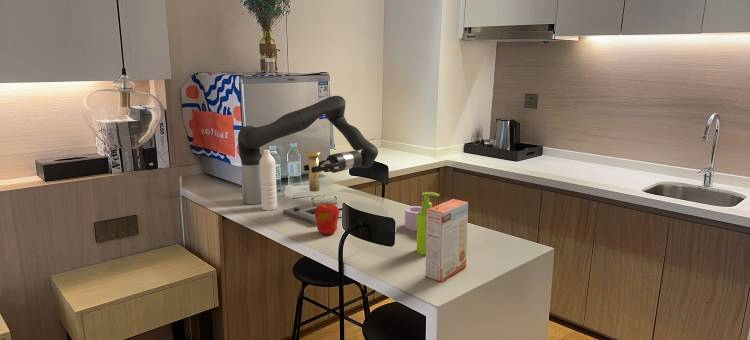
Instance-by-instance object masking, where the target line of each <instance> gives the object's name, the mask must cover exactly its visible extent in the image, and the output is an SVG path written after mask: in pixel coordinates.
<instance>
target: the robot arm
mask: <svg viewBox="0 0 750 340" xmlns="http://www.w3.org/2000/svg"><path fill="white" fill-rule="evenodd" d="M345 110H346V100H345V98H344V97H342V95H341V96H340V95H331V96H328V97H326V98H324V99H322V100H319V101H318V102H315V103H314V104H311V105H307V106H306V107H303V108H301V109H300V108H299V109H297V110H294V111H291V112H287V113H286V114H283V115H282V116H280V117H278V118H277V119H276V120H274V121H273V122H271V123H267V124H265V125H261V126H257V127H256V126H253V125H244V126H243V127H241V128H240V129H239V132H238V134H237V144H238V145H237V146H238V153H239V154H238V155H239V158H240V161H241V163H240V164H241V165H240V166H241V193H242V202H243V204H246V205H259V204H261V203H262V202H261V184H260V165H259V162H260V159H261V157H262V156H263V154H262V153H261V150H260V149H261V147H263V146H265V145H267V144H269V143H271V142H273V141H275V140H277V139H278V140H279V139H280V138H285V137H288V136H290V135H294V134H296V133H299V132H302V131H304V130H306V129H308V128H310V126H311V125H313V124H314V123H315V122H316V121H317V120H318V119H319V118H320V117H323V115H324V117H326V119H327V120H328V121H329V122H330V123H331V124H332V125H333V126H334V127H335V128H336V130H338V131H339V132H340V133H341V135H343V137H344V138H345V140H347V142H348V143H349V145H350V147H351V148H352V149H353V150H351V151H350V150H349V151H346V152H345V151H343V152H338V153H334V154H333V153H332V154H329V155H328V156H327V157H326V159H321V160H319V166H315V167H312V168H311V172H312V173H315V172H319V173H323V172H324V173H329V172H330V173H333V174H336V173H339V172H340V173H341V172H344V171H347V170H351V169H353V168H360V169H361V168H362V169H368V168H370V167H371V166H373V164H374V162H375V161H376V159H377V158H378V154H379V149H378V148H377V146H375V145H374V144H373V143H372V142H370V141H369V140H368V139H366V138H365V136H364V135H363V134H362V132H361V131H360V129H359V128H357V127H355V126H354V125H351V124H350V123H348V121H347V120H346V118H345V112H346V111H345ZM303 171H304V172H309V165H308V164H305V165H303Z"/></svg>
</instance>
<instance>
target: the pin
mask: <svg viewBox="0 0 750 340" xmlns="http://www.w3.org/2000/svg"><path fill="white" fill-rule="evenodd" d="M305 156H306V157H307V158H308V159H307V160H308V161H307V163H308V164H307V165H309V170H308V184H309V185H308V186H309V187H308V189H309V191H310V192H314V193H315V192H319V191H320V172H315V173H312V172H311V168H312V167H315V166H319V161H320V160H319V159H320V158H319V157H320V156H321V151H318V150H317V151H316V150H309V151H306V152H305Z"/></svg>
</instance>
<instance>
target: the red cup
mask: <svg viewBox="0 0 750 340" xmlns="http://www.w3.org/2000/svg"><path fill="white" fill-rule="evenodd" d="M316 207H317V208H316V210H315V218H316V222H317V225H316V229H317V231H319V232H320V233H321V234H322V235H328V236H329V235H333V234H335V233H336V232H337V230H338V220H339V216H340V209H339V208H338V206H337V205H335V204H333V203H328V202H326V203H321V204H318V205H317V206H316Z"/></svg>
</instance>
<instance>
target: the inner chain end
mask: <svg viewBox="0 0 750 340" xmlns="http://www.w3.org/2000/svg"><path fill="white" fill-rule="evenodd" d="M307 208H308V206H304V205H297V206H293V207H290V208H285V209H282V213H283V214H284V215H286V216H288V217H291V218H295V219H297V220H300V219H301V220H300V221H302V220H303V222H305V221H306V223H308V222H309V224H311V223H312V224H311V225H314V224H313V220H310V219H307V218H304V217H301V216H299V215H297V211H300V210H303V209H307ZM310 214H315V212H313V213H310Z"/></svg>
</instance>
